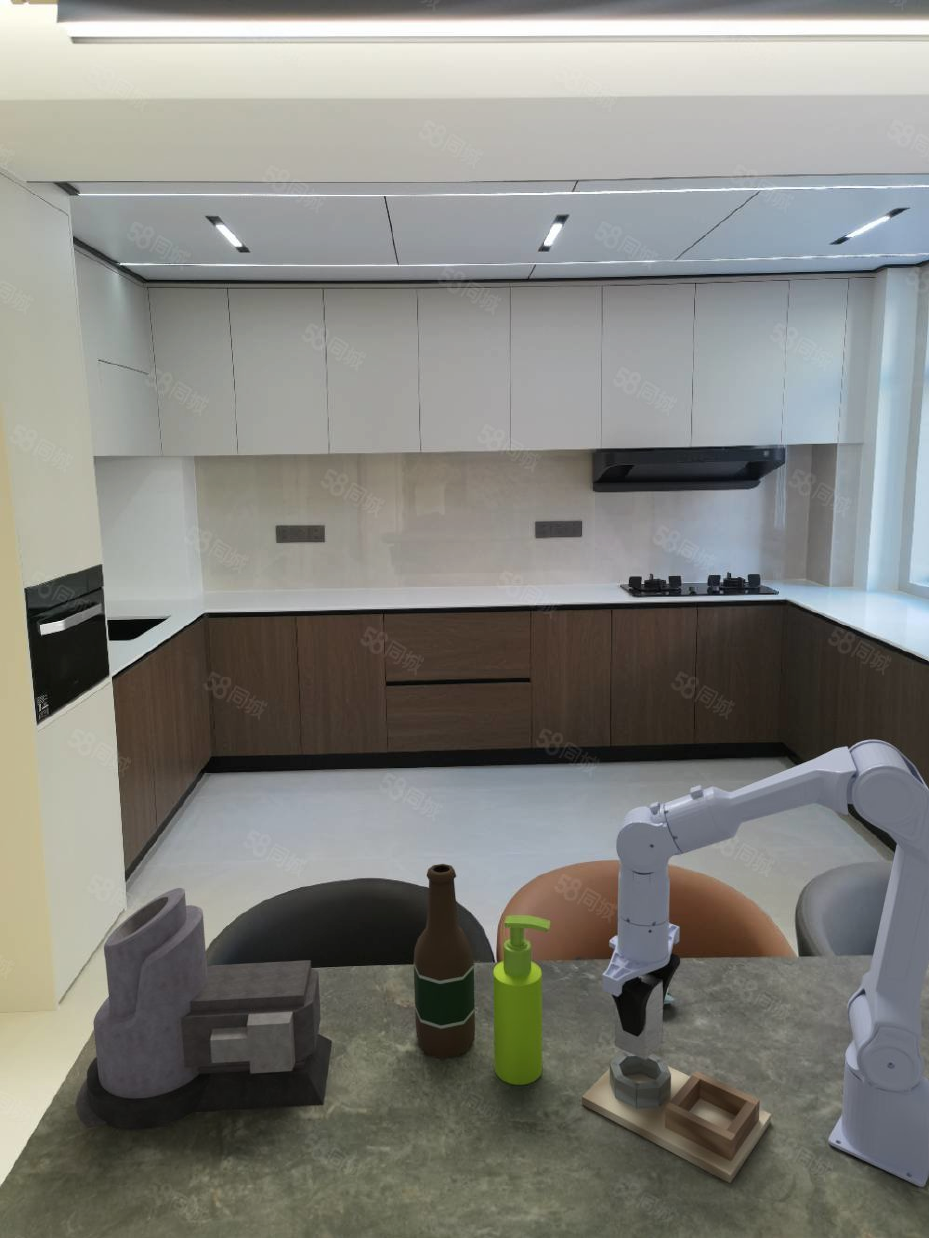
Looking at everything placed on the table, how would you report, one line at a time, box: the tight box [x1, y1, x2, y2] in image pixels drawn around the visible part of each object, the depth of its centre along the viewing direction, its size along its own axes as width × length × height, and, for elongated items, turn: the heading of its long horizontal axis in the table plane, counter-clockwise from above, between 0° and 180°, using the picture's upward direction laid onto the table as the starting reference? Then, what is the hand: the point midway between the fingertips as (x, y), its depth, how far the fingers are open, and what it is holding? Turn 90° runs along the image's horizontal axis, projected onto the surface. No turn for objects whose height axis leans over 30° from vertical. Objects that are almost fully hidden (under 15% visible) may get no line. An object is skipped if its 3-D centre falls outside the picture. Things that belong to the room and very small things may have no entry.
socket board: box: [581, 1050, 772, 1184], centre depth 98 cm, size 18×11×4 cm, turn 50°
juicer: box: [75, 887, 333, 1131], centre depth 103 cm, size 30×16×24 cm, turn 94°
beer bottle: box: [413, 863, 476, 1060], centre depth 109 cm, size 8×8×24 cm
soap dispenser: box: [492, 914, 551, 1086], centre depth 104 cm, size 6×7×20 cm
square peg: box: [614, 973, 664, 1060], centre depth 99 cm, size 4×4×8 cm
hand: (641, 1022), depth 99 cm, fingers closed on square peg, 4 cm apart
